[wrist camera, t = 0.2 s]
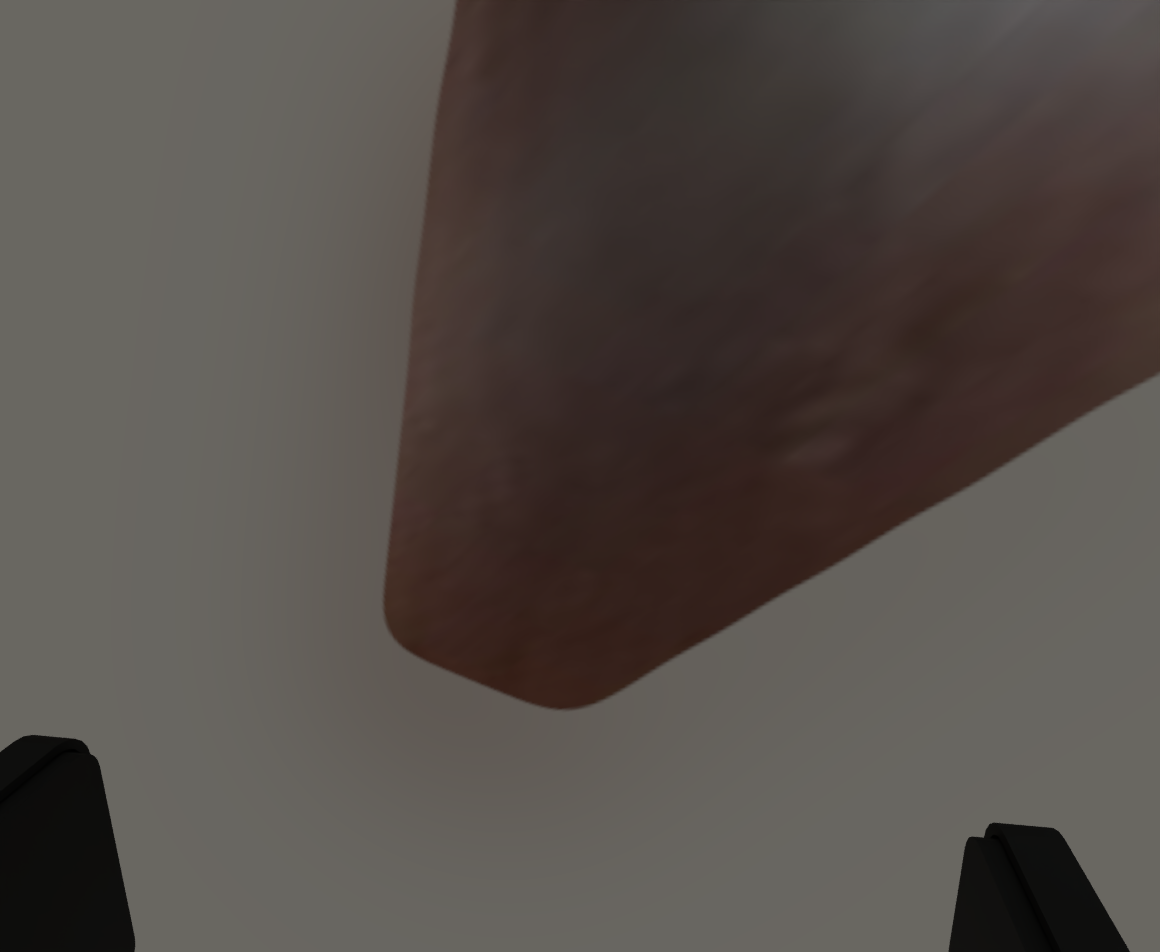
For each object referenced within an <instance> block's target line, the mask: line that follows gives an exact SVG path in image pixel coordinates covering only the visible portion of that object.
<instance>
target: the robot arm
mask: <svg viewBox="0 0 1160 952" xmlns="http://www.w3.org/2000/svg"><path fill="white" fill-rule="evenodd" d="M134 950H135V936H134V932H133V927H132V922H131V917H130V912H129V907H128V902H127V898H126V892H125V887H124V882H123V878H122V873H121V868H120V863H119V858H118V853H117V848H116V843H115V838H114V834H113V829H112V824H111V819H110V814H109V809H108V804H107V799H106V794H105V789H104V784H103V780H102V775H101V770H100V766H99V763H98V760H97V759H96V758H95V757H94V756H93V755H91V754H90V752H89V749H88V747H87V746H86V745H85V744H84V743H83V742H82V741H80V740H77V739H70V738H60V737H49V736H38V735H30V736H24V737H22V738H20V739H18V740H16V741H15V742H13V743H12V744H10V745H9V746H8V747H6V748H5V749H4V750H2V751H1V752H0V952H134ZM949 952H1130V951H1129V949H1128V948H1127V946H1126V944H1125V942H1124V941H1123V939H1122V937H1121V935H1120V934H1119V932H1118V931H1117V929H1116V927H1115V925H1114V923H1113V922H1112V920H1111V918H1110V917H1109V915H1108V913H1107V911H1106V910H1105V908H1104V906H1103V904H1102V903H1101V901H1100V899H1099V898H1098V896H1097V894H1096V893H1095V891H1094V889H1093V887H1092V885H1091V884H1090V882H1089V880H1088V879H1087V877H1086V875H1085V873H1084V872H1083V870H1082V868H1081V867H1080V865H1079V863H1078V861H1077V860H1076V858H1075V856H1074V855H1073V853H1072V851H1071V849H1070V848H1069V846H1068V844H1067V842H1066V841H1065V839H1064V838H1063V836H1062V835H1061V834H1060V832H1059V831H1057V830H1055V829H1054V828H1047V827H1036V826H1024V825H1014V824H1003V823H1002V824H1001V823H992V824H989V826H988V828H987V829H986V832H985V836H984V838H982V837H969V838H968V840H967V842H966V846H965V850H964V857H963V863H962V869H961V876H960V882H959V889H958V895H957V901H956V908H955V913H954V920H953V926H952V933H951V939H950V945H949Z"/></svg>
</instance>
